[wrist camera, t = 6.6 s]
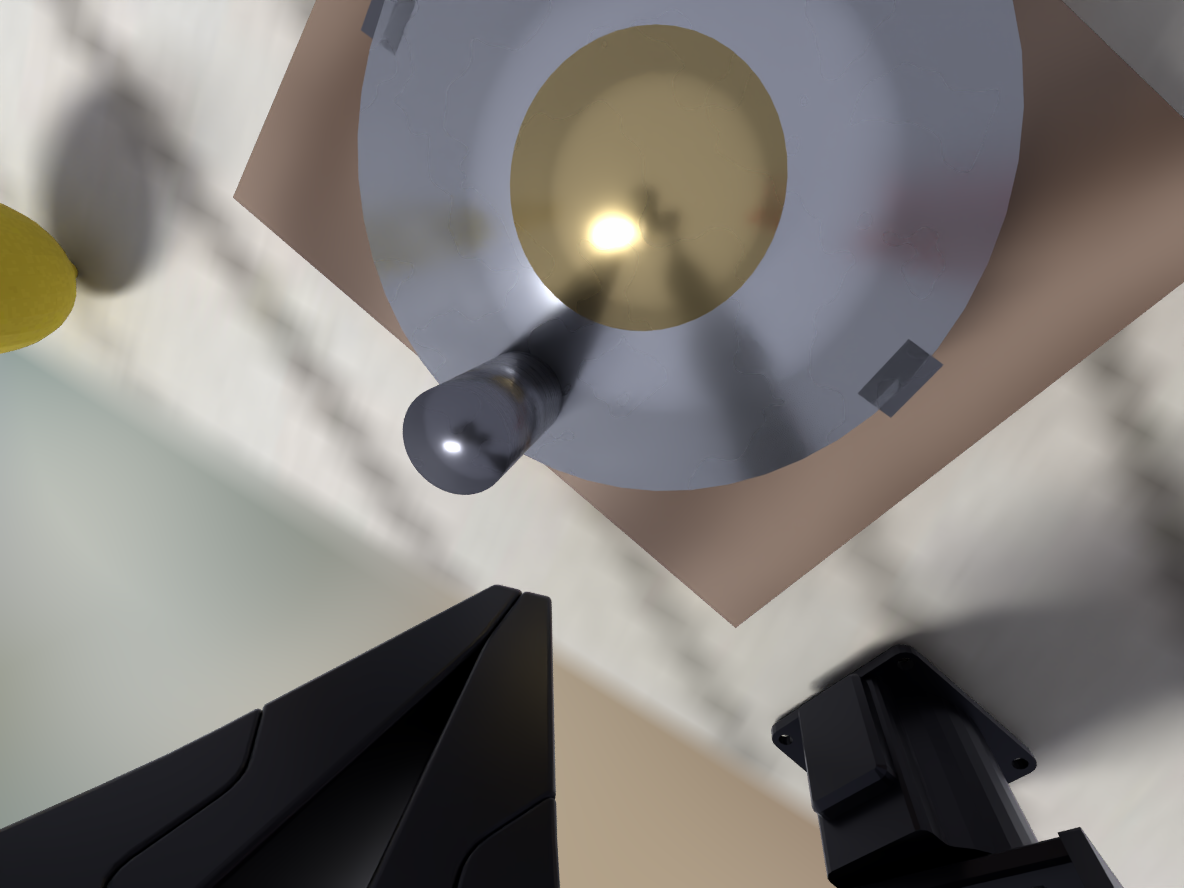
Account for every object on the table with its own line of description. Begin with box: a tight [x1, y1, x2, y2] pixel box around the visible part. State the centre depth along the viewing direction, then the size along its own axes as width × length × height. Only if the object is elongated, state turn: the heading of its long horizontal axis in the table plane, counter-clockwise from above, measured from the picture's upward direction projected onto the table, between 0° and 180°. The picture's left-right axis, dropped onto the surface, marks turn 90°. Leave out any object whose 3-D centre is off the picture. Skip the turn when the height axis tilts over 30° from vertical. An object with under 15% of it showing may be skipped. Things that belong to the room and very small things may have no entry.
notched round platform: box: [358, 0, 1024, 495], centre depth 12 cm, size 16×16×6 cm
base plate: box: [233, 0, 1184, 628], centre depth 16 cm, size 22×17×2 cm
